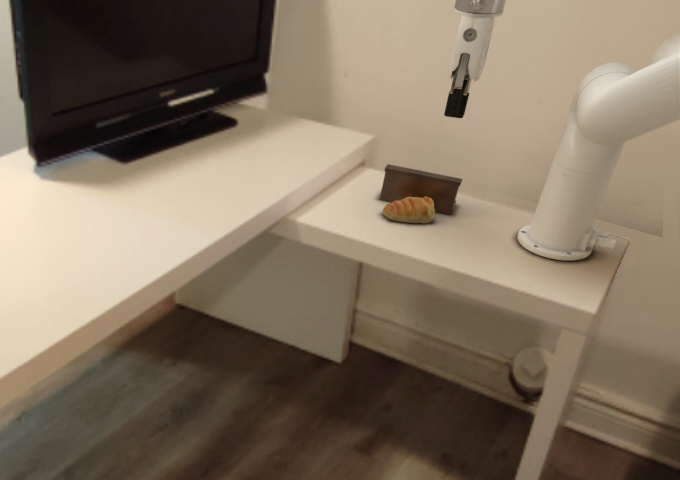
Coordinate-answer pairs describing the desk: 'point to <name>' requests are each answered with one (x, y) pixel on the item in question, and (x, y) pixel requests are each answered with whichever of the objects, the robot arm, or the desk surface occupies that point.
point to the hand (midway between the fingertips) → (453, 115)
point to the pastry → (411, 210)
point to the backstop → (420, 187)
